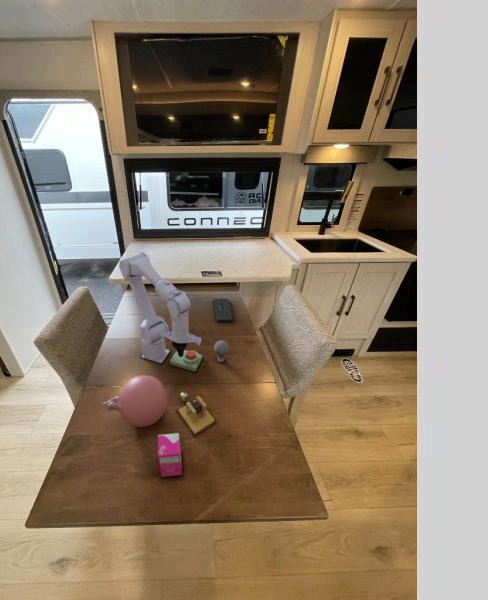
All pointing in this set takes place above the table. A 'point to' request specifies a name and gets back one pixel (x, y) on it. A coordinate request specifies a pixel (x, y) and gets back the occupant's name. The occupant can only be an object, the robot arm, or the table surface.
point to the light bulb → (221, 350)
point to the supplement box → (169, 455)
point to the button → (190, 355)
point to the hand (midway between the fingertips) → (181, 355)
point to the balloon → (140, 401)
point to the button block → (186, 361)
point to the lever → (191, 402)
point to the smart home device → (223, 310)
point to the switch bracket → (196, 416)
